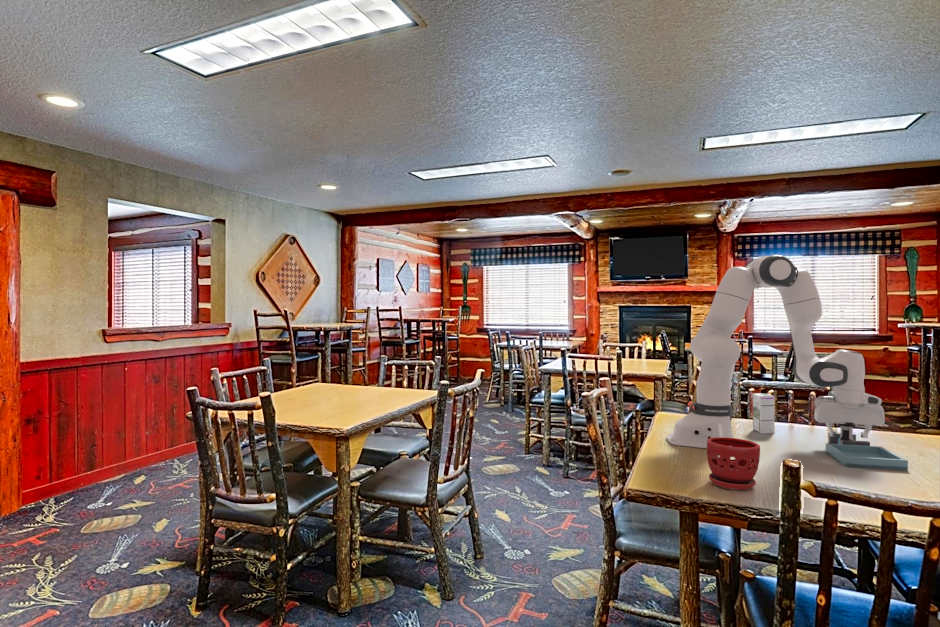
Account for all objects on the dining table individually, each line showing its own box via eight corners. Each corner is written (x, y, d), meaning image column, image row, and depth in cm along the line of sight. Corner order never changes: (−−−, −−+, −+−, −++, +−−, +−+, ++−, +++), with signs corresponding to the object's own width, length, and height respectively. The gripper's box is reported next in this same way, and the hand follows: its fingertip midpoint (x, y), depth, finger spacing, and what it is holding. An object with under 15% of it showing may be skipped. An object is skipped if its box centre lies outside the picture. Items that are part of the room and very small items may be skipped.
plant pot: (762, 495, 139) (762, 449, 139) (706, 489, 144) (706, 444, 144) (757, 480, 151) (757, 438, 151) (706, 474, 156) (706, 433, 156)
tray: (846, 466, 164) (846, 456, 164) (825, 452, 179) (825, 443, 179) (907, 470, 160) (907, 460, 160) (881, 455, 175) (881, 446, 175)
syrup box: (775, 433, 205) (775, 395, 205) (759, 433, 205) (759, 395, 205) (767, 429, 211) (767, 393, 211) (751, 429, 211) (752, 393, 211)
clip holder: (842, 451, 181) (842, 440, 180) (828, 442, 192) (828, 432, 192) (869, 452, 179) (870, 442, 178) (853, 443, 190) (854, 433, 190)
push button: (863, 449, 183) (863, 419, 183) (853, 450, 181) (853, 421, 181) (843, 444, 189) (843, 416, 189) (833, 445, 187) (833, 417, 187)
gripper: (818, 397, 185) (817, 437, 185) (887, 399, 179) (886, 440, 180) (811, 394, 191) (811, 432, 191) (878, 396, 186) (877, 436, 186)
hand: (848, 436), depth 185 cm, fingers open, 8 cm apart
